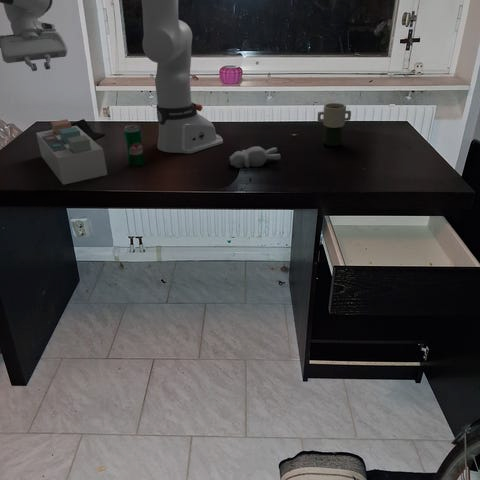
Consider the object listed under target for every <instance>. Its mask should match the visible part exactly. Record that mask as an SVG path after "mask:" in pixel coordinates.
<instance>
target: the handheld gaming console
mask: <svg viewBox="0 0 480 480" xmlns="http://www.w3.org/2000/svg"><path fill="white" fill-rule="evenodd" d="M71 126H77V127H79V128H80V129H81V130H82V131H83V132H84V133H85V134H87V135H88V136H89V137H90V138H91V139H92V140H93V141H94V142H96V141H97V140H99V139H102V138H103V137H105V136H106V134H105V133H102V132H96V131H95V132H94V130H93V129H92V128H91V127H90V124H89V123H88V122H87V121H86V120H85V119H84V118H83V119H80V120H78V121H75V122H73V123H71Z"/></svg>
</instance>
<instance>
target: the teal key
mask: <svg viewBox="0 0 480 480" xmlns="http://www.w3.org/2000/svg"><path fill="white" fill-rule="evenodd" d="M59 133H60V138H61V141H62V142H63V143H64V144H68V139H67V138H72V137H77V136H81V135H80V131H79V130H78V129H77V128H76V127H72V128H66V129H60V130H59Z"/></svg>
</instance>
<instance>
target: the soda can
mask: <svg viewBox="0 0 480 480" xmlns="http://www.w3.org/2000/svg"><path fill="white" fill-rule="evenodd" d="M123 135H124V140H125V148H126V155H127V160H128V165H129V166H131V167H133V168H135V167H137V168H138V167H142V166H143V165H145V163H146V159H145V151H144V144H143V143H144V142H143V136H142V129H141V127H140V125H138V124H129V125H126V126H124V129H123Z"/></svg>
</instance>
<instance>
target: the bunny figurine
mask: <svg viewBox="0 0 480 480" xmlns="http://www.w3.org/2000/svg"><path fill="white" fill-rule="evenodd" d="M277 152H278V148H277V147H271V148H269V149H265V148H263V147H261V146H251V147H249V148H248V149H242V150H241V151H240V150H236V151H235V152H233V154H232V155H231V156H229V161H230V162H229V163H230V166H231V167H232V166H233V167H235V168H237V169H241V168H250V167H252V168H258V167H263V166H264V164H265V163H266V161H267V160H273V161H275V160H276V161H278V160H281V157H282V156H281V153H277Z"/></svg>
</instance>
